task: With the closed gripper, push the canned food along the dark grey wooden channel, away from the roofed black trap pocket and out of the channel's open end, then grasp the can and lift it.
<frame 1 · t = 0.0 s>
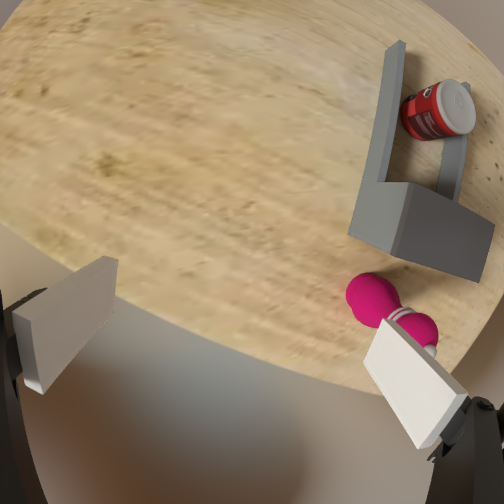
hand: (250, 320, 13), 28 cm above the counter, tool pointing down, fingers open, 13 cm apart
canned food: (416, 118, 37), resting in trap channel
trap channel: (413, 145, 38), on the counter
pepper mill: (362, 291, 43), on the counter
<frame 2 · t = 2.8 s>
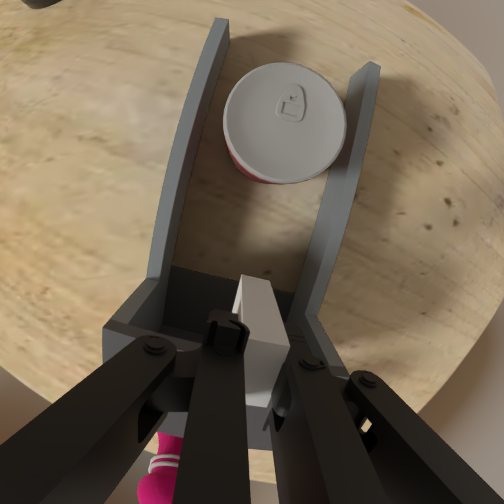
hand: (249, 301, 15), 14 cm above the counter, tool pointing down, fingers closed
canned food: (268, 143, 26), resting in trap channel
trap channel: (255, 192, 27), on the counter
pepper mill: (190, 391, 33), on the counter
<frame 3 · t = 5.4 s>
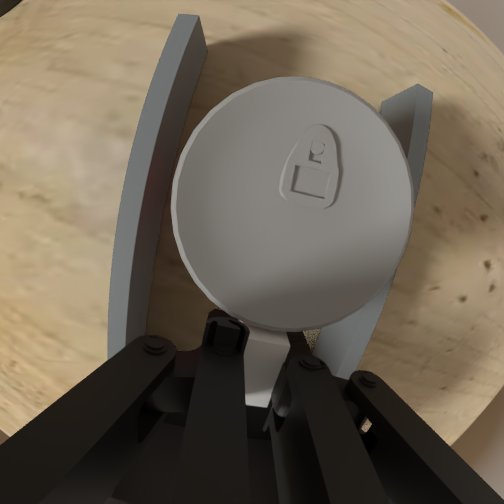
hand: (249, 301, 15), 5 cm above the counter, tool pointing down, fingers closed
canned food: (267, 195, 19), resting in trap channel, touching gripper
trap channel: (246, 277, 20), on the counter
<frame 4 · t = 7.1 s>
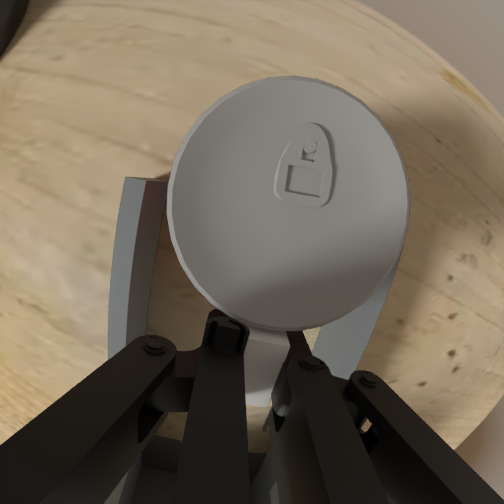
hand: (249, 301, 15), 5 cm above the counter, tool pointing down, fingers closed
canned food: (264, 195, 19), on the counter, touching gripper
trap channel: (219, 385, 22), on the counter
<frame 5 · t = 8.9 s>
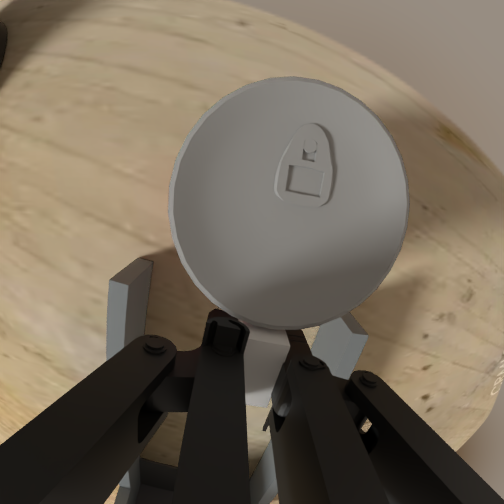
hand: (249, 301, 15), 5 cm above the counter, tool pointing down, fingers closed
canned food: (265, 195, 19), on the counter, touching gripper
trap channel: (206, 426, 23), on the counter
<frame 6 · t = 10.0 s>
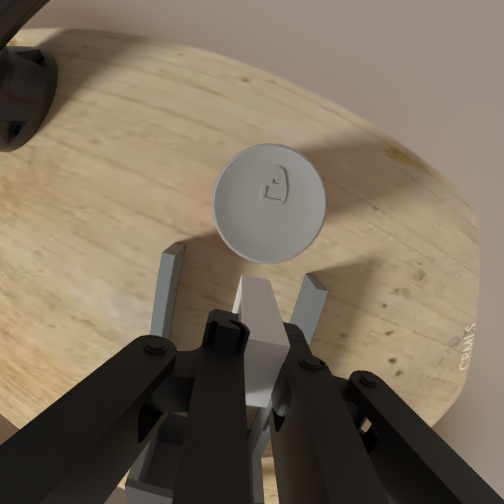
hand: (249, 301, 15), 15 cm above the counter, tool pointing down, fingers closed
canned food: (260, 199, 29), on the counter
trap channel: (217, 375, 33), on the counter
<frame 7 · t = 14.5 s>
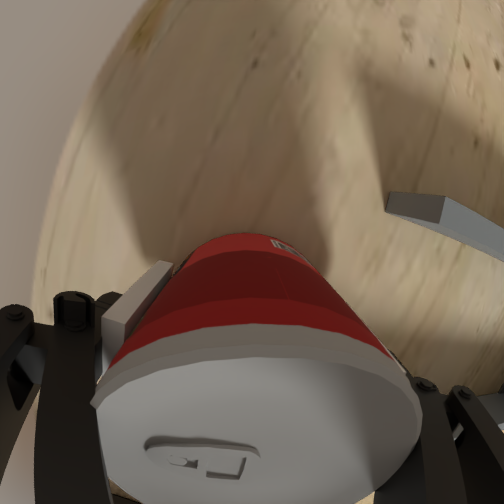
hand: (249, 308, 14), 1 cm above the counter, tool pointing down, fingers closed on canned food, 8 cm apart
canned food: (246, 299, 16), on the counter, touching gripper
trap channel: (488, 338, 17), on the counter
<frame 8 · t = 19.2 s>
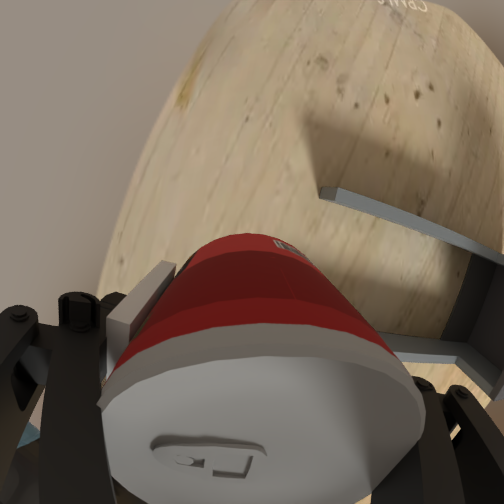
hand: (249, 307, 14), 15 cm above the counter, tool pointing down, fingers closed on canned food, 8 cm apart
canned food: (248, 299, 16), point 14 cm above the counter, touching gripper
trap channel: (413, 286, 31), on the counter
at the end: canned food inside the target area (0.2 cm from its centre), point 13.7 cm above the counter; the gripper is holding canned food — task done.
